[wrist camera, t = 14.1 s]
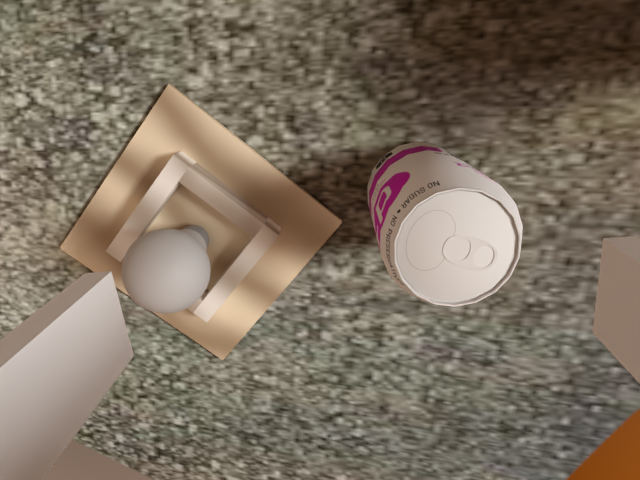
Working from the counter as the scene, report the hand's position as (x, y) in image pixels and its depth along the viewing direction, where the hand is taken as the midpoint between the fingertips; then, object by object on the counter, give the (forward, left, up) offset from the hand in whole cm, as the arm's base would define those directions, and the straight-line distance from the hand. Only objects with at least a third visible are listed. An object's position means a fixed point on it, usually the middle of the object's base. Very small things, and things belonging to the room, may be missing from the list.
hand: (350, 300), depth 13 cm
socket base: (+14, -5, -28) cm, 32 cm away
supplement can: (-1, +7, -28) cm, 29 cm away
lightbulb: (+14, -5, -28) cm, 31 cm away
